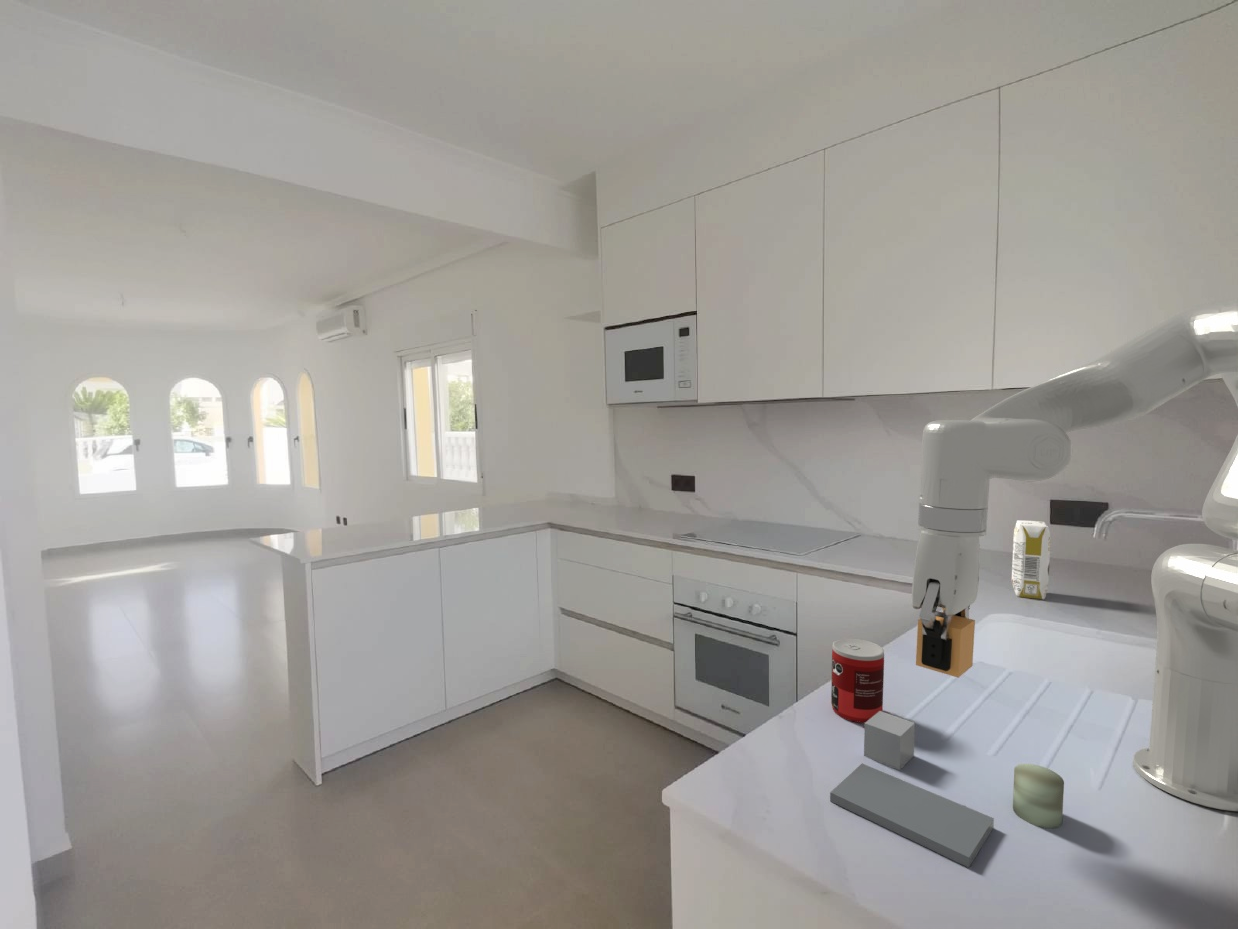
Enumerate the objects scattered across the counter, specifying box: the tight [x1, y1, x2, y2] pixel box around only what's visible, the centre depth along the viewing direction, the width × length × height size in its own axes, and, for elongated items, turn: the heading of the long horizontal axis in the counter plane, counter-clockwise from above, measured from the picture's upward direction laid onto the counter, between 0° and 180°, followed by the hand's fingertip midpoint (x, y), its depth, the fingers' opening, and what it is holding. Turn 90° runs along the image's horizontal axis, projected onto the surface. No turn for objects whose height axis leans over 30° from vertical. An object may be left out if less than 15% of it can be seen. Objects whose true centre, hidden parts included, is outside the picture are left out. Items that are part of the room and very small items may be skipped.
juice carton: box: [1011, 519, 1052, 600], centre depth 160 cm, size 8×9×19 cm
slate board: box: [829, 763, 995, 869], centre depth 76 cm, size 9×16×1 cm, turn 44°
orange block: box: [915, 615, 976, 678], centre depth 78 cm, size 5×5×6 cm
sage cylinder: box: [1012, 763, 1065, 829], centre depth 75 cm, size 5×5×5 cm
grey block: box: [863, 710, 916, 771], centre depth 88 cm, size 5×5×5 cm
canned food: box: [830, 638, 885, 724], centre depth 100 cm, size 8×8×11 cm
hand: (944, 659), depth 78 cm, fingers closed on orange block, 5 cm apart
